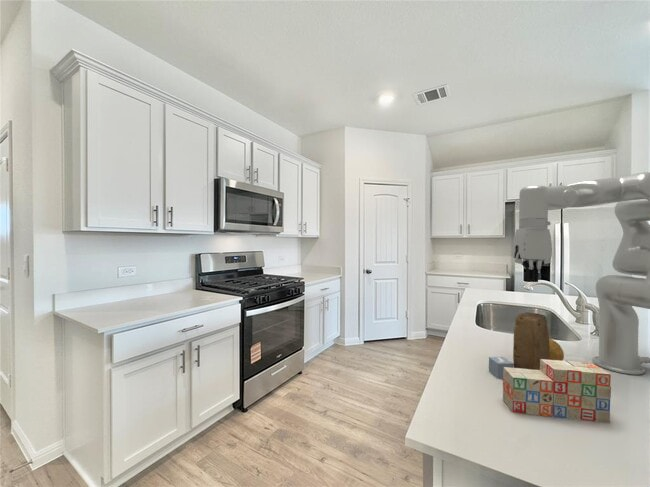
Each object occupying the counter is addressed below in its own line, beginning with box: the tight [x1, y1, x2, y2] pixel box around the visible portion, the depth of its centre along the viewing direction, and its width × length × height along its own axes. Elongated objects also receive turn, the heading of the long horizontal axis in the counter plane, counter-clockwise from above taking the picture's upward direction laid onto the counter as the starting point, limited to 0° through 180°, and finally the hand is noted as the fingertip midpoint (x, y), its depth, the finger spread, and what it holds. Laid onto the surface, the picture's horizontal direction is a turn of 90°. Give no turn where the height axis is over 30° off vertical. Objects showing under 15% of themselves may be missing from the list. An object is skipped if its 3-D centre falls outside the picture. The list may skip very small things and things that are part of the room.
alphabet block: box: [488, 356, 514, 380], centre depth 94 cm, size 5×5×5 cm
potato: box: [549, 337, 565, 361], centre depth 104 cm, size 10×13×9 cm
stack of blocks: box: [502, 359, 612, 424], centre depth 74 cm, size 21×6×12 cm, turn 78°
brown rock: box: [512, 311, 550, 370], centre depth 93 cm, size 11×8×20 cm
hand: (532, 281), depth 93 cm, fingers closed
